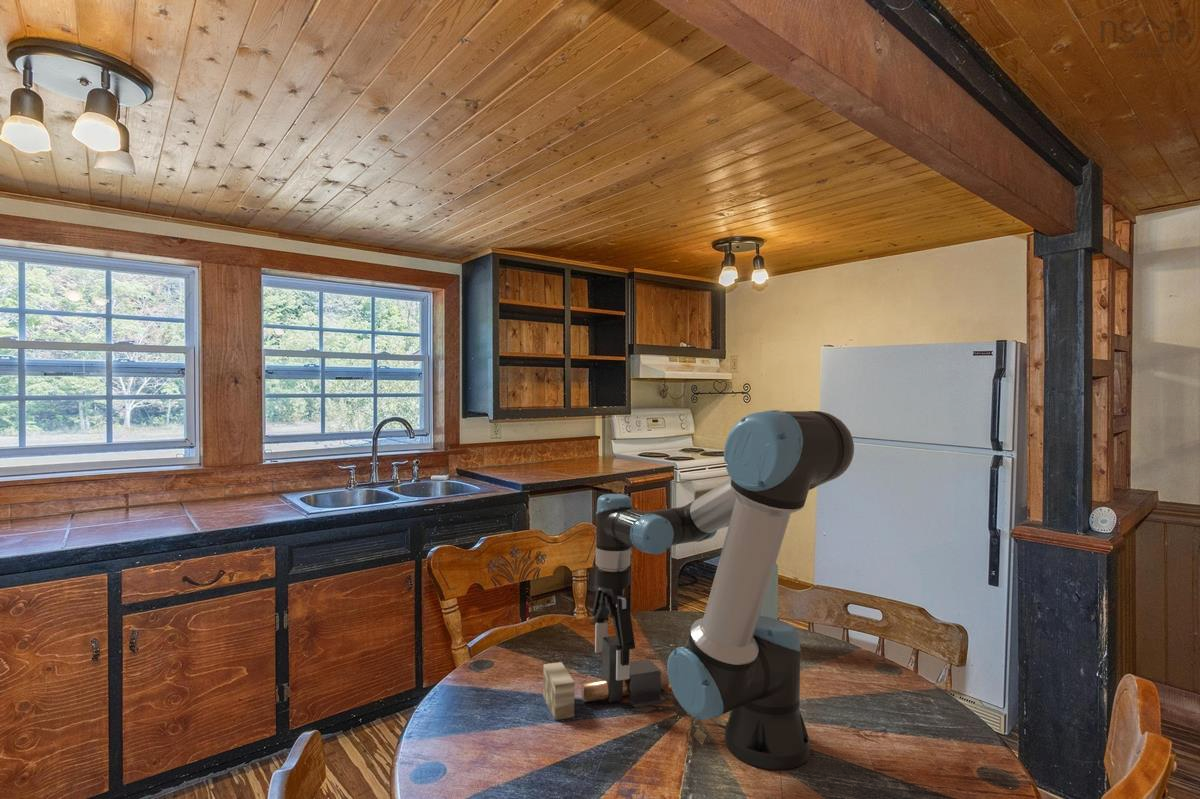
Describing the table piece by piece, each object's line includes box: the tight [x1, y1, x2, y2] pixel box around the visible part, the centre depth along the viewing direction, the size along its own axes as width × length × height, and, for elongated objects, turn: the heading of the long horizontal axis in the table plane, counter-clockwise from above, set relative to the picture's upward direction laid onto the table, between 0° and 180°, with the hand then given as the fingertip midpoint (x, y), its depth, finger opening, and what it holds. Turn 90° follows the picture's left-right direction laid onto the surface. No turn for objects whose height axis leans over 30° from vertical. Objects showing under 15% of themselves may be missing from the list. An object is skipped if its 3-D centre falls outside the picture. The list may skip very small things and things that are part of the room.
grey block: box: [629, 658, 666, 709], centre depth 131 cm, size 11×7×6 cm, turn 19°
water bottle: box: [760, 563, 779, 620], centre depth 157 cm, size 10×10×25 cm
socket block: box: [542, 661, 576, 721], centre depth 125 cm, size 10×4×7 cm, turn 19°
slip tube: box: [580, 635, 670, 704], centre depth 130 cm, size 5×19×12 cm, turn 109°
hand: (611, 664), depth 129 cm, fingers open, 13 cm apart
